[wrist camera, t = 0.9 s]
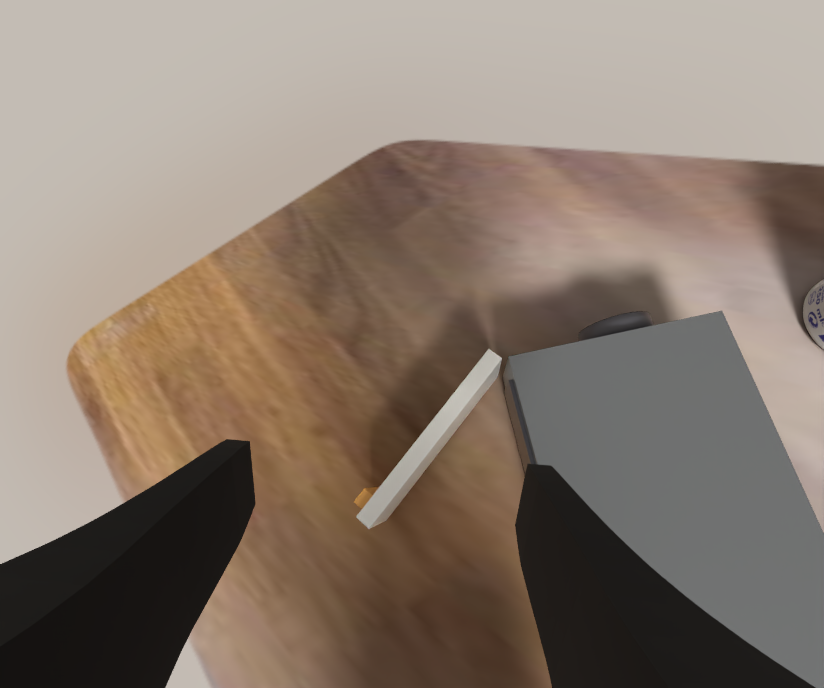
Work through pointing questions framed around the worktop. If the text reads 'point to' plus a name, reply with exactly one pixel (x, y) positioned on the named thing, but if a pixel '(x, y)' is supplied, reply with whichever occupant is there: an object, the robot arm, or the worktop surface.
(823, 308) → the energy drink
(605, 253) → the worktop surface
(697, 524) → the camera housing
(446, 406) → the door
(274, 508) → the worktop surface
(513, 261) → the worktop surface
